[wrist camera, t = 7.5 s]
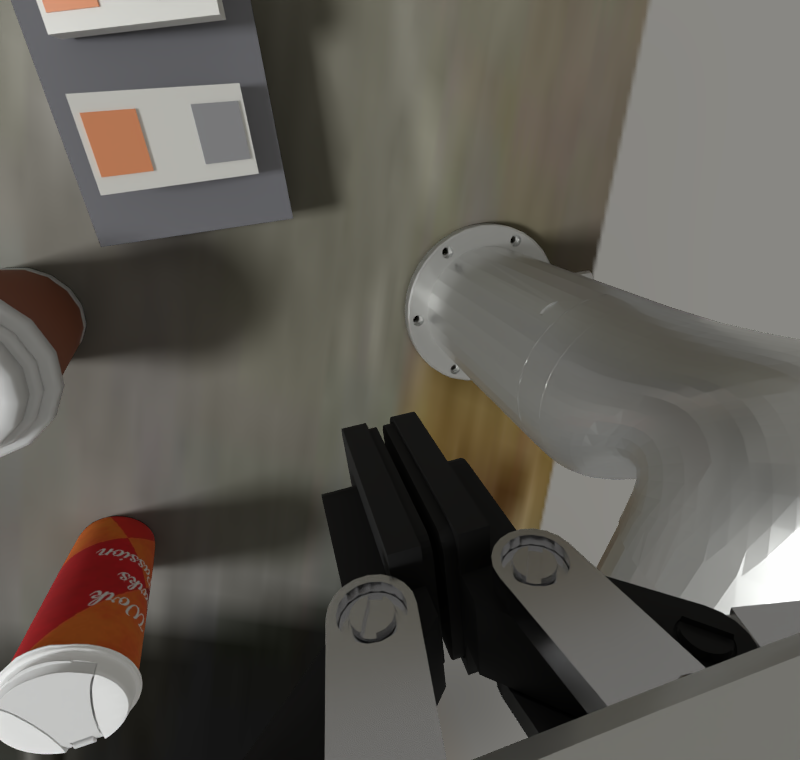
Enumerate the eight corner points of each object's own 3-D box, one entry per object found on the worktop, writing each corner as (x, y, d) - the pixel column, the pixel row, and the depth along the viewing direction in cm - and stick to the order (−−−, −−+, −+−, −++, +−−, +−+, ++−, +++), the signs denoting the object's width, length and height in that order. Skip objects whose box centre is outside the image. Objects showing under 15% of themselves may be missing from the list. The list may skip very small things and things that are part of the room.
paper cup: (182, 563, 43) (157, 728, 30) (86, 592, 41) (19, 778, 29) (149, 491, 39) (106, 645, 27) (43, 520, 38) (-54, 696, 26)
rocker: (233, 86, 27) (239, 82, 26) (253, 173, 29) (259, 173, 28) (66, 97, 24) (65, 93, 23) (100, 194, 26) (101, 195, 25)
